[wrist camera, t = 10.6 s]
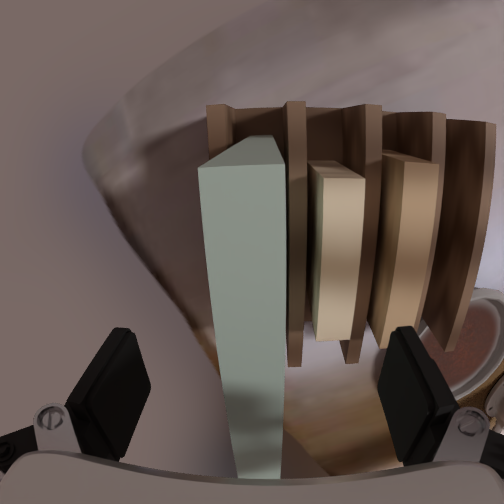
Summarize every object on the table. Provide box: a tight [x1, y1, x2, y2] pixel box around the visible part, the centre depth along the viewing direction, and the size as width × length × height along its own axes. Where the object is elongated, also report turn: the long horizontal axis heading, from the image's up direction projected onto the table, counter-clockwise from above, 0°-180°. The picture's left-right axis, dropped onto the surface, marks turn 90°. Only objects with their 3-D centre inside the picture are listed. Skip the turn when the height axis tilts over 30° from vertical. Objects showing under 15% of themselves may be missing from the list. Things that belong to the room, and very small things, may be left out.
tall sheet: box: [198, 135, 286, 479], centre depth 17 cm, size 14×2×18 cm, turn 3°
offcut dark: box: [367, 149, 439, 349], centre depth 21 cm, size 12×2×8 cm, turn 3°
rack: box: [206, 101, 496, 367], centre depth 22 cm, size 18×19×7 cm
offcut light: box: [305, 160, 365, 341], centre depth 21 cm, size 10×2×8 cm, turn 3°
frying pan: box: [417, 287, 504, 400], centre depth 28 cm, size 17×3×28 cm
